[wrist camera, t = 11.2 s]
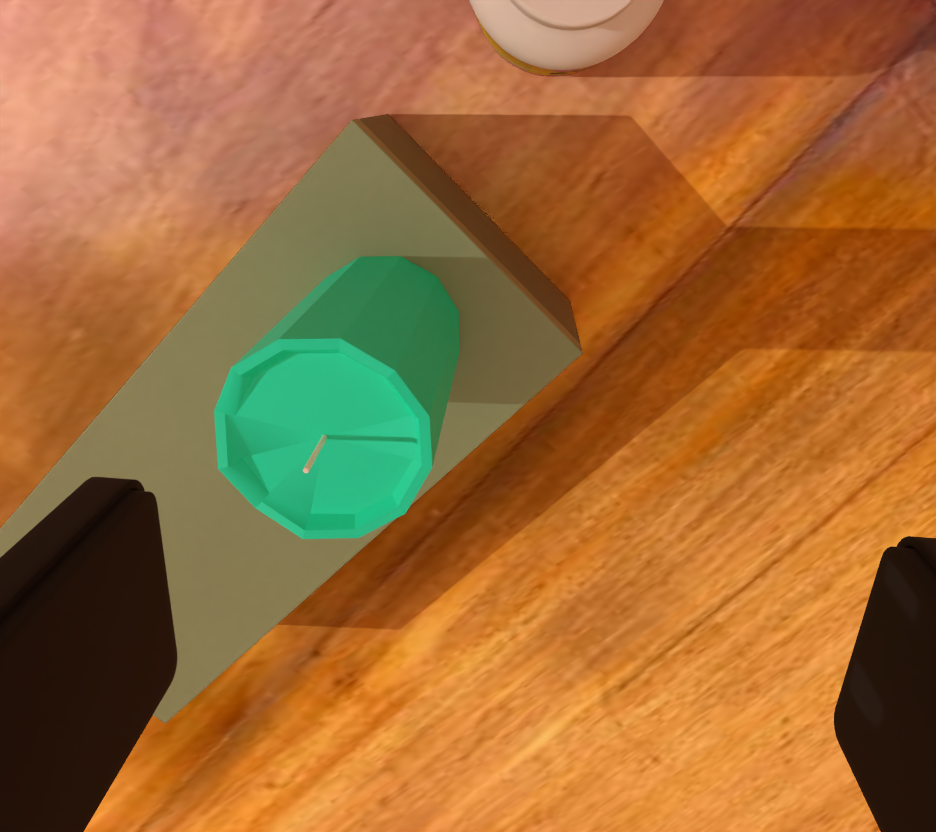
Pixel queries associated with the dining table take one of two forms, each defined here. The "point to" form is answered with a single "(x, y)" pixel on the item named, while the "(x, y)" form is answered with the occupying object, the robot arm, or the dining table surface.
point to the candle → (343, 401)
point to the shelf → (245, 323)
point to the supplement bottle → (562, 31)
